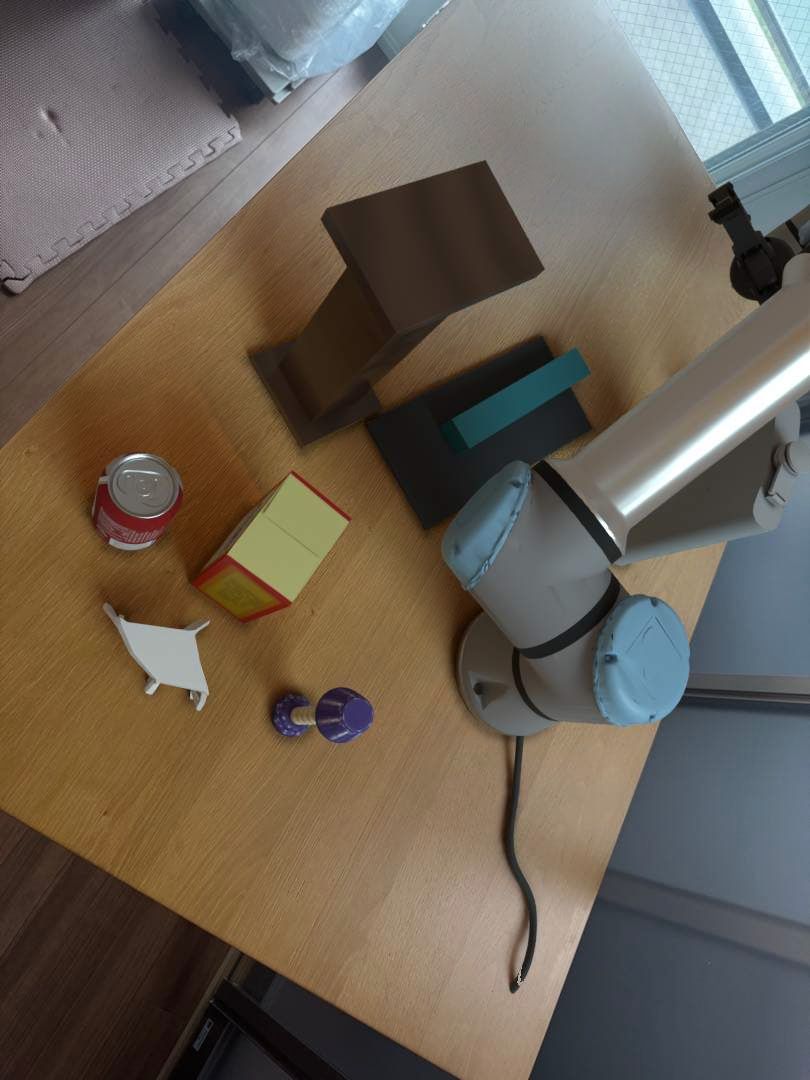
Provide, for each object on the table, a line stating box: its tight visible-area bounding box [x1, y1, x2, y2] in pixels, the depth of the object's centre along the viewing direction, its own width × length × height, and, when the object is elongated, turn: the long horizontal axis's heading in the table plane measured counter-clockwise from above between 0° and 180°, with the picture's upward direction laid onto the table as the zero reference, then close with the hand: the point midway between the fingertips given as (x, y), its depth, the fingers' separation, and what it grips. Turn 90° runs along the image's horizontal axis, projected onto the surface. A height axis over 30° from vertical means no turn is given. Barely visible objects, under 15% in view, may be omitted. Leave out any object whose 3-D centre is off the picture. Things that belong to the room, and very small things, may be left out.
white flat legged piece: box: [102, 602, 211, 712], centre depth 66 cm, size 12×8×5 cm
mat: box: [364, 335, 593, 531], centre depth 90 cm, size 30×14×1 cm, turn 123°
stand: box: [249, 159, 546, 450], centre depth 68 cm, size 16×11×30 cm
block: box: [440, 346, 592, 456], centre depth 91 cm, size 23×4×3 cm, turn 125°
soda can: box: [91, 451, 184, 552], centre depth 65 cm, size 7×7×12 cm
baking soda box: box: [190, 469, 353, 625], centre depth 67 cm, size 10×6×16 cm
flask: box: [613, 400, 810, 567], centre depth 88 cm, size 17×5×25 cm, turn 156°
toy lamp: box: [270, 686, 375, 744], centre depth 66 cm, size 5×5×17 cm
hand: (755, 270), depth 75 cm, fingers open, 13 cm apart
